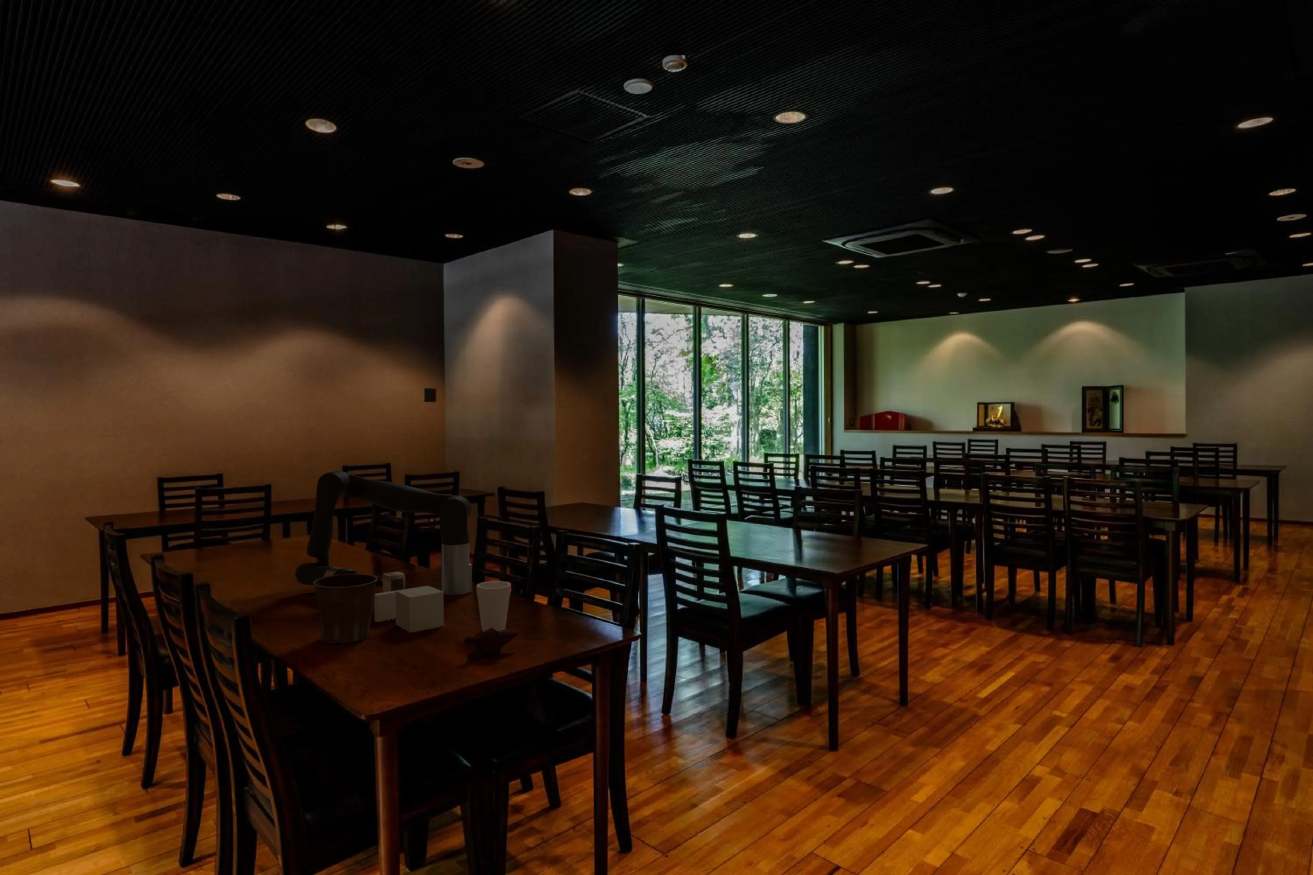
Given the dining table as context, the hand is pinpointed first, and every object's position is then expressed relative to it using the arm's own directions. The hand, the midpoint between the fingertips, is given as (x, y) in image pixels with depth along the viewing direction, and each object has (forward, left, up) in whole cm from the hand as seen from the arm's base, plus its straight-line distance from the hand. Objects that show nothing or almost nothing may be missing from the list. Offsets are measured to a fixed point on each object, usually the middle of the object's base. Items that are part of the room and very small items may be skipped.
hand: (371, 586), depth 229 cm
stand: (-3, +30, -7) cm, 31 cm away
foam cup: (-17, +48, -7) cm, 51 cm away
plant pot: (+17, +28, -7) cm, 34 cm away
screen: (-3, +17, -7) cm, 19 cm away
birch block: (-3, +11, -7) cm, 13 cm away
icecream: (-7, +66, -7) cm, 67 cm away
